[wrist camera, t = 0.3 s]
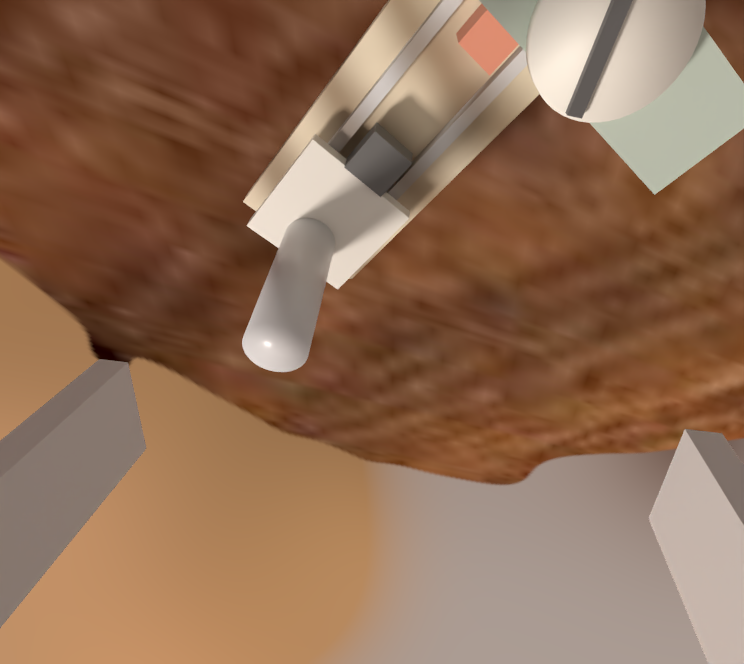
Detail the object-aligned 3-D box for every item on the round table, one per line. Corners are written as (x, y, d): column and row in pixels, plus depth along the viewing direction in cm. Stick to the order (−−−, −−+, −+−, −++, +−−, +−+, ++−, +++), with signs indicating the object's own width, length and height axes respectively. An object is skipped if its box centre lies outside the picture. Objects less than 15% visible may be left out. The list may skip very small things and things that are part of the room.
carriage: (345, 93, 31) (310, 184, 22) (440, 178, 34) (447, 290, 25) (251, 216, 37) (192, 330, 27) (339, 279, 40) (313, 401, 30)
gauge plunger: (512, -34, 27) (518, -28, 25) (542, 2, 28) (550, 10, 26) (456, 33, 29) (458, 43, 27) (485, 64, 30) (489, 75, 28)
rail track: (438, -68, 28) (439, -65, 26) (556, 65, 31) (564, 77, 29) (248, 192, 38) (239, 208, 36) (353, 268, 42) (349, 286, 40)
